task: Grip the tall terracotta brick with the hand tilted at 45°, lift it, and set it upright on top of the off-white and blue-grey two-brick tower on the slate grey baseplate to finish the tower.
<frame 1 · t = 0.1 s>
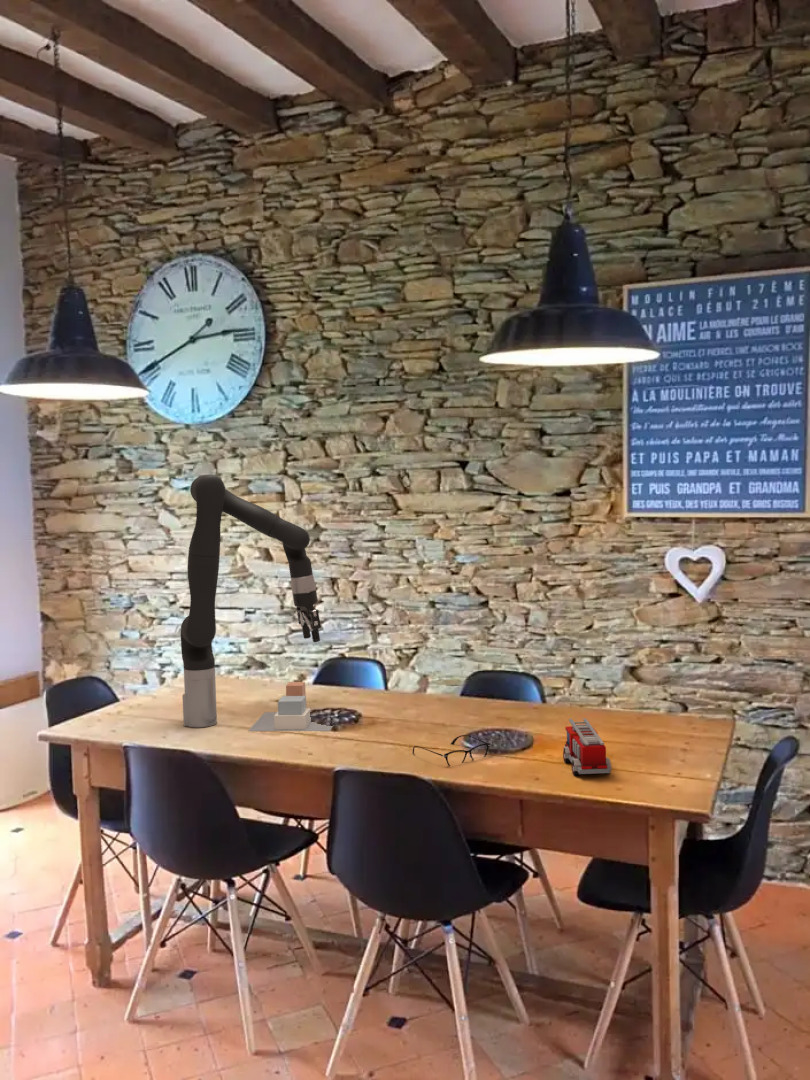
hand: (311, 639, 295), 22 cm above the table, tool pointing down, fingers open, 8 cm apart
toy fire truck: (586, 769, 230), on the table
eyeglasses: (450, 757, 244), on the table
tower base: (292, 725, 274), resting on baseplate
baseplate: (296, 723, 279), on the table
terracotta brick: (296, 716, 285), point 1 cm above the table, touching baseplate
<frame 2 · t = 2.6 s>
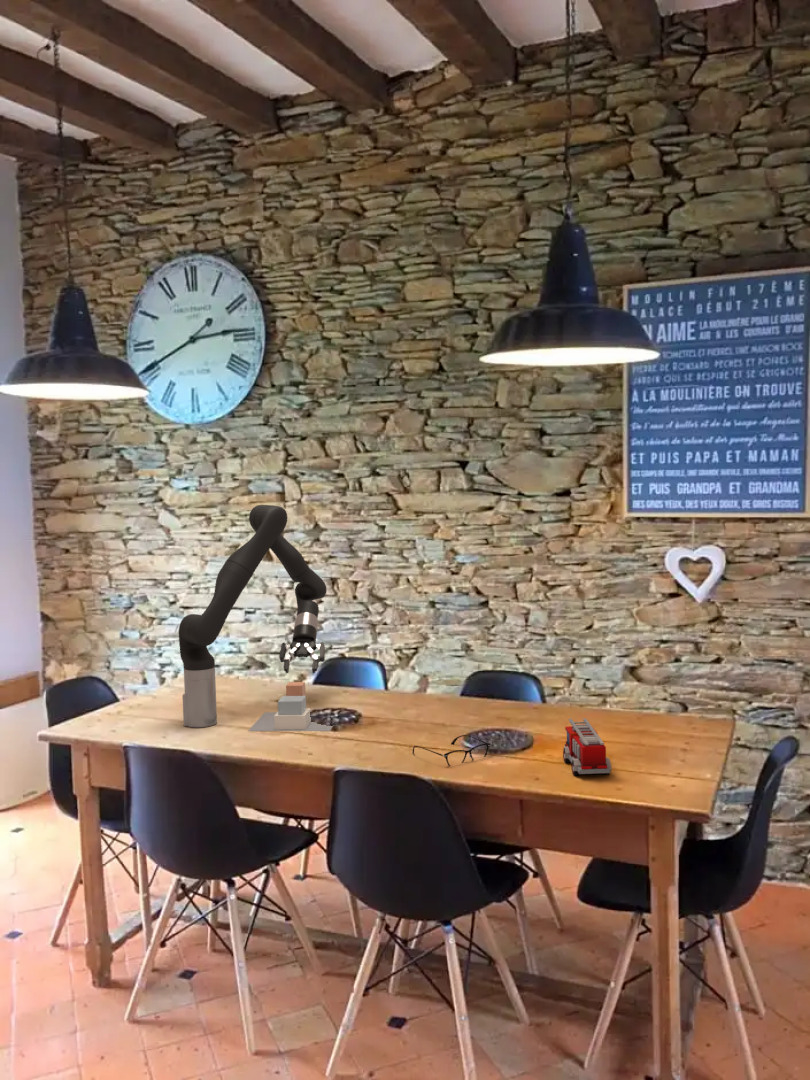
hand: (300, 671, 293), 13 cm above the table, tool tilted 45°, fingers open, 8 cm apart
nothing on the table moved.
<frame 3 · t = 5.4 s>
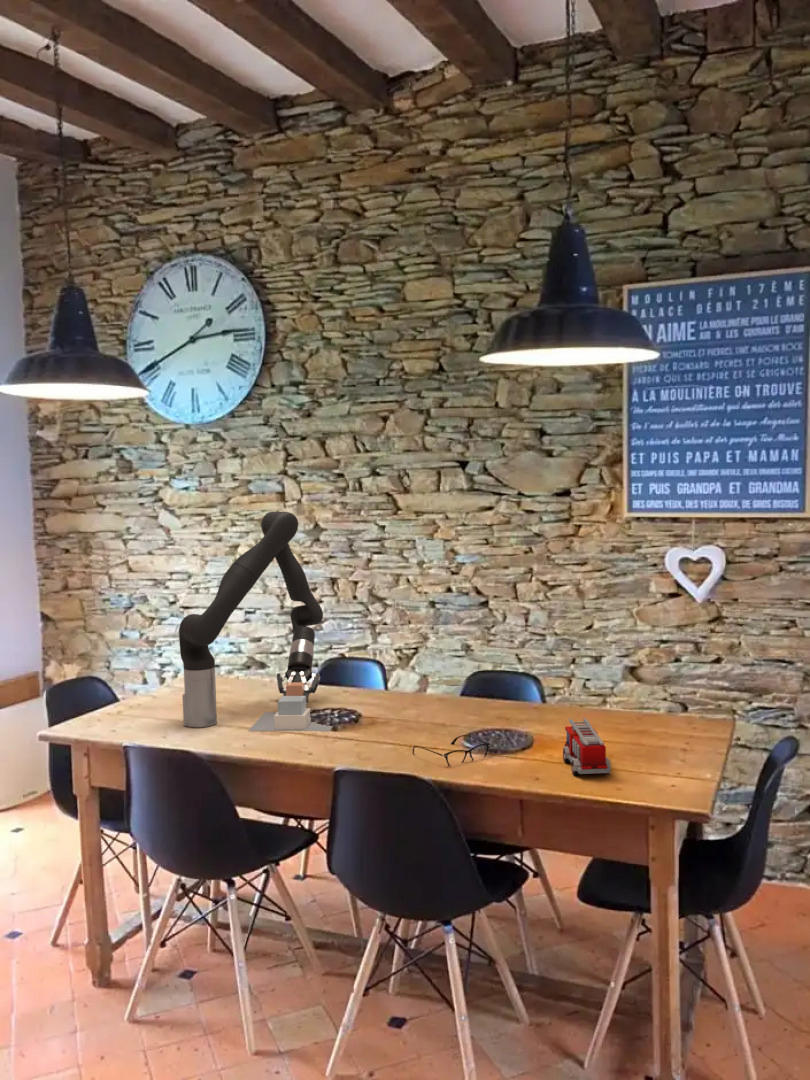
hand: (295, 703, 283), 5 cm above the table, tool tilted 45°, fingers closed on terracotta brick, 5 cm apart
terracotta brick: (296, 716, 285), point 1 cm above the table, touching baseplate, gripper
everything else where it was.
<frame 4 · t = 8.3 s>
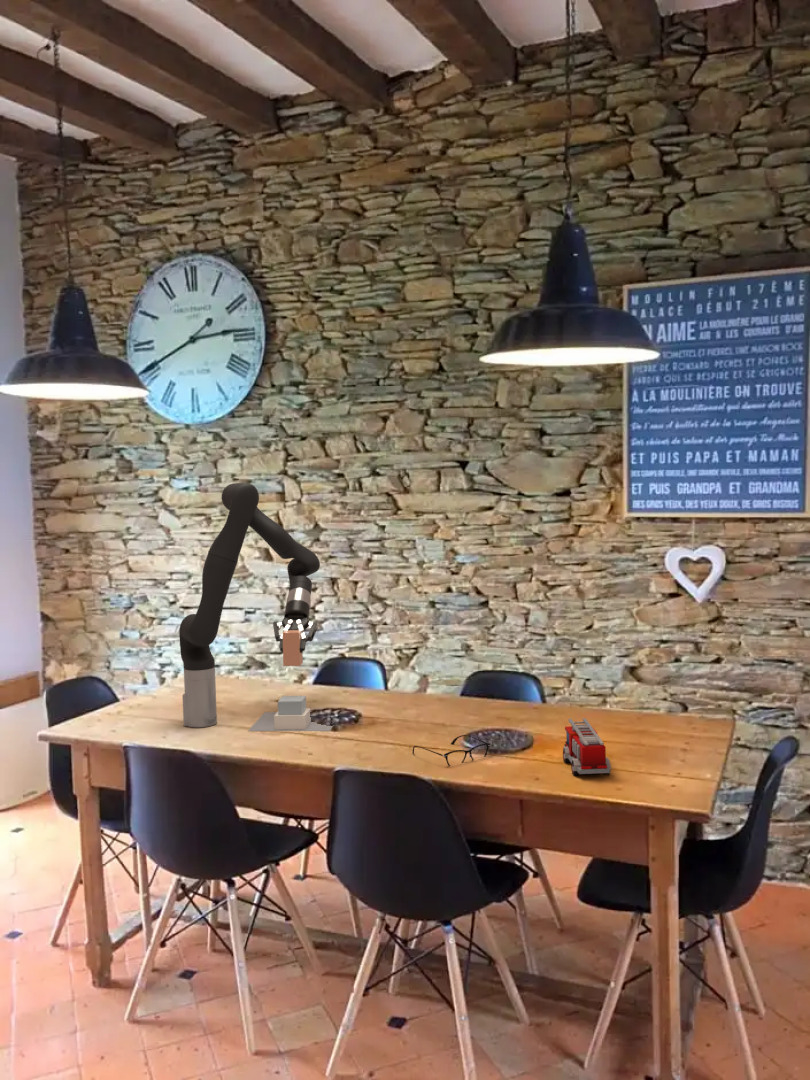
hand: (291, 651, 279), 22 cm above the table, tool tilted 45°, fingers closed on terracotta brick, 5 cm apart
terracotta brick: (293, 664, 281), point 18 cm above the table, touching gripper
everything else where it was.
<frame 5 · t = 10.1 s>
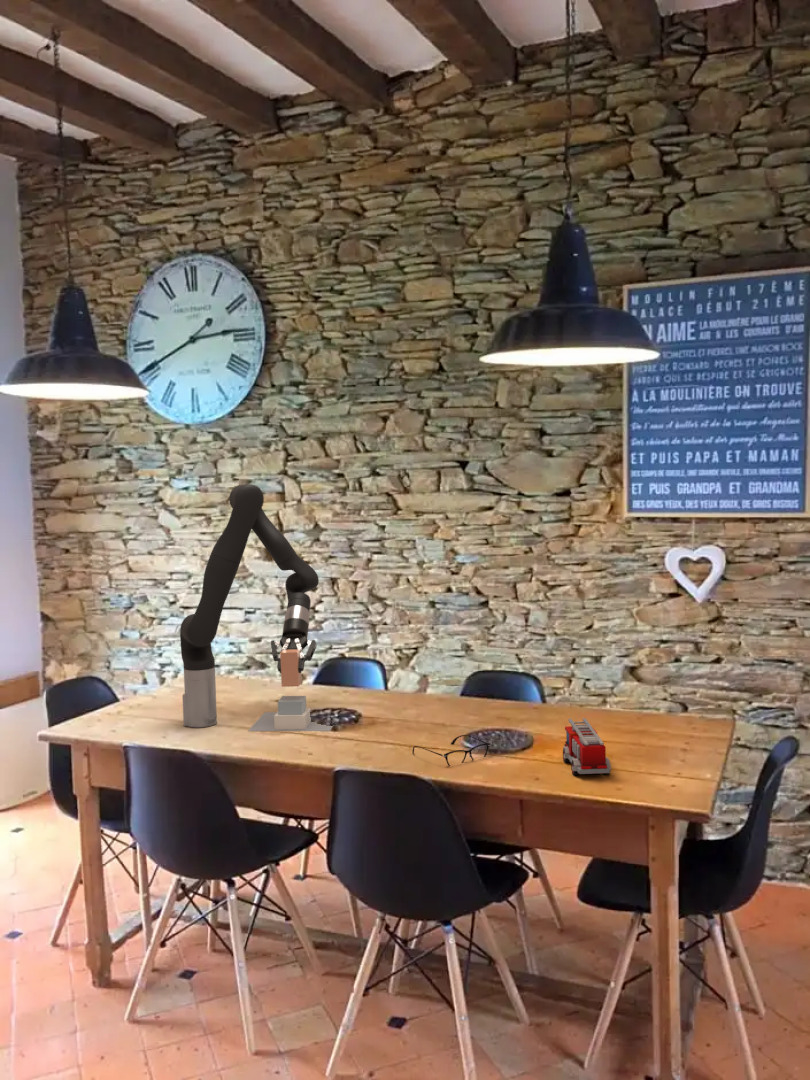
hand: (290, 671, 272), 17 cm above the table, tool tilted 45°, fingers closed on terracotta brick, 5 cm apart
terracotta brick: (291, 684, 274), point 13 cm above the table, touching gripper
everything else where it was.
when the fingers open (15 cm above the table, at t = 11.6 s): terracotta brick drops 1 cm, resting on tower base.
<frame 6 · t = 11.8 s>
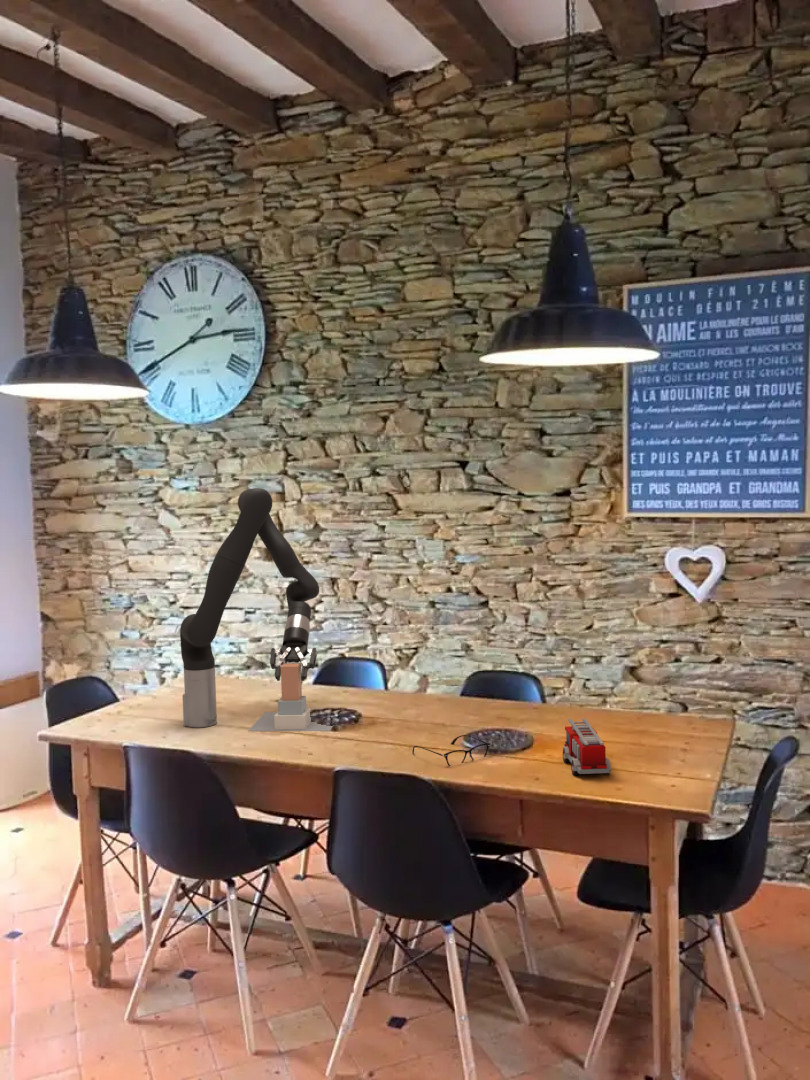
hand: (290, 679, 272), 15 cm above the table, tool tilted 45°, fingers open, 6 cm apart
terracotta brick: (291, 698, 274), point 9 cm above the table, touching tower base
everything else where it was.
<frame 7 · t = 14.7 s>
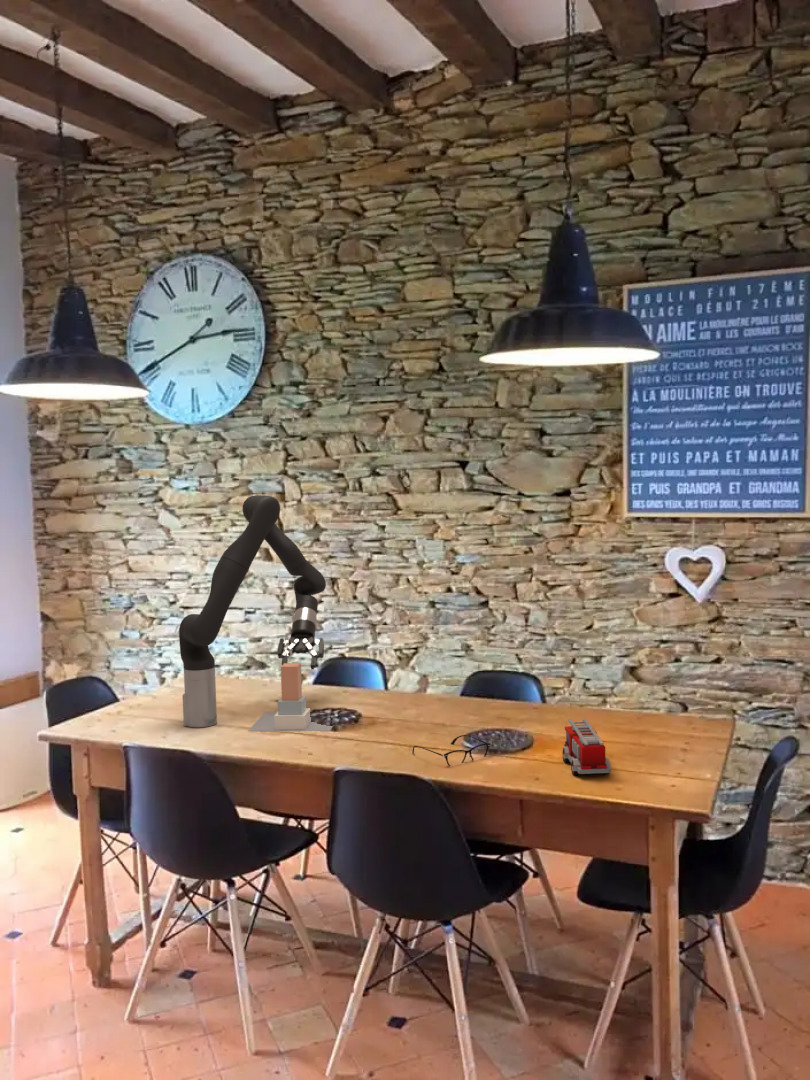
hand: (298, 668, 285), 15 cm above the table, tool tilted 45°, fingers open, 8 cm apart
nothing on the table moved.
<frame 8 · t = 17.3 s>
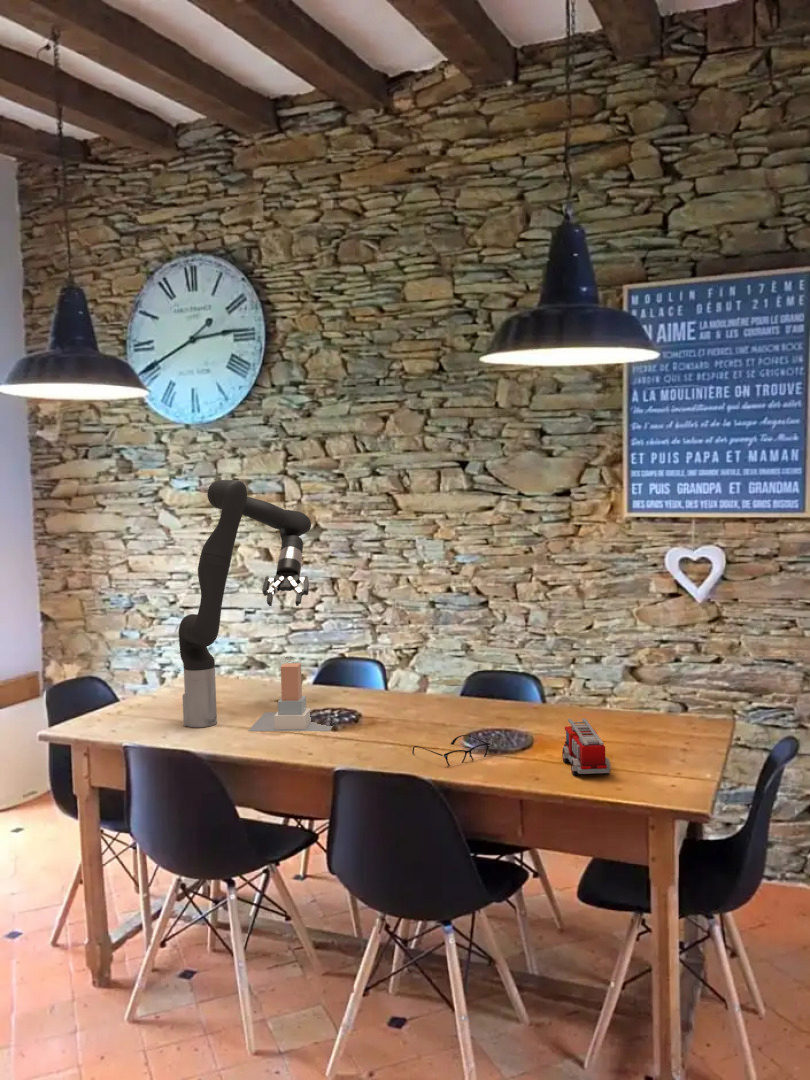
hand: (283, 604, 288), 35 cm above the table, tool tilted 45°, fingers open, 8 cm apart
nothing on the table moved.
at the end: terracotta brick 0.0 cm off-centre on the tower base, point 8.0 cm above the tower base's base; terracotta brick tilted 0°; the gripper is holding nothing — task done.
